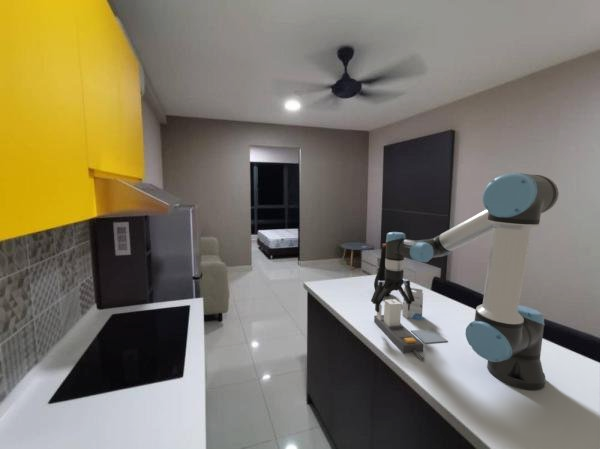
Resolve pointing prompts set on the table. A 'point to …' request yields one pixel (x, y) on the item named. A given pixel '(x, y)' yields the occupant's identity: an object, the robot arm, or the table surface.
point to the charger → (392, 312)
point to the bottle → (381, 269)
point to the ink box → (416, 304)
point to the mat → (429, 336)
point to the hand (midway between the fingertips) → (392, 317)
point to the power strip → (401, 337)
